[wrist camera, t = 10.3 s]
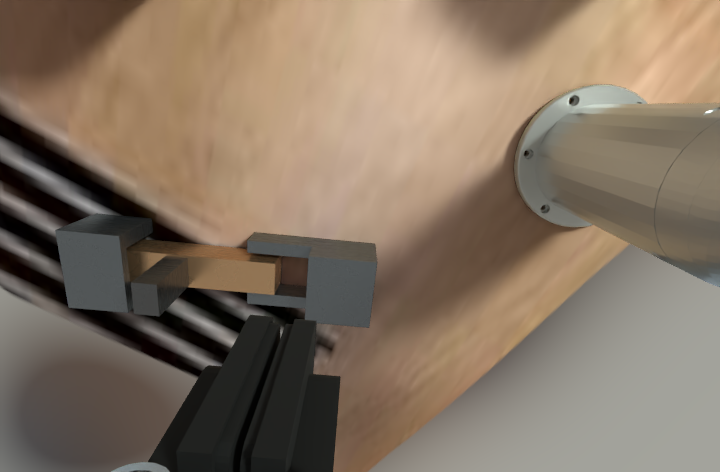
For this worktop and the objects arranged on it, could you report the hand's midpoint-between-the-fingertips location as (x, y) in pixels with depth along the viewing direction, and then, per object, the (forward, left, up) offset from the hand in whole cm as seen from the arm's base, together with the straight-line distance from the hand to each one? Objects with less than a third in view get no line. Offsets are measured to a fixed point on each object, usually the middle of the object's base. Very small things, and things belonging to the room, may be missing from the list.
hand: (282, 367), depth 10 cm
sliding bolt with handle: (+13, +10, -27) cm, 31 cm away
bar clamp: (+9, +10, -27) cm, 30 cm away
